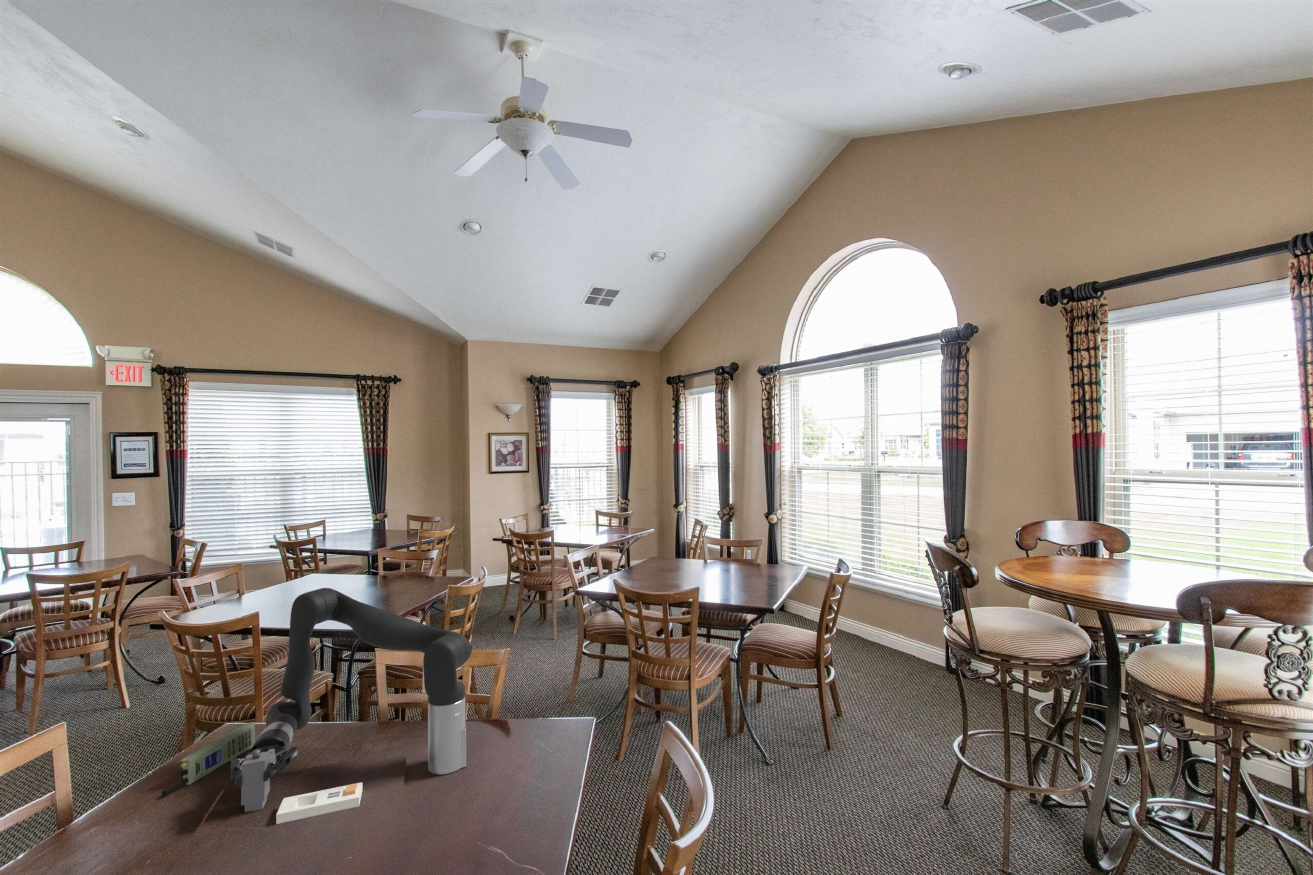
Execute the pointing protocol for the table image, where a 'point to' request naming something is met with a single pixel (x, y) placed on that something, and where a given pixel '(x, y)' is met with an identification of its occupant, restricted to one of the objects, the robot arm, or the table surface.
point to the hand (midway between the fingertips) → (252, 779)
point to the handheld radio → (215, 755)
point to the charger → (254, 780)
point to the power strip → (319, 802)
